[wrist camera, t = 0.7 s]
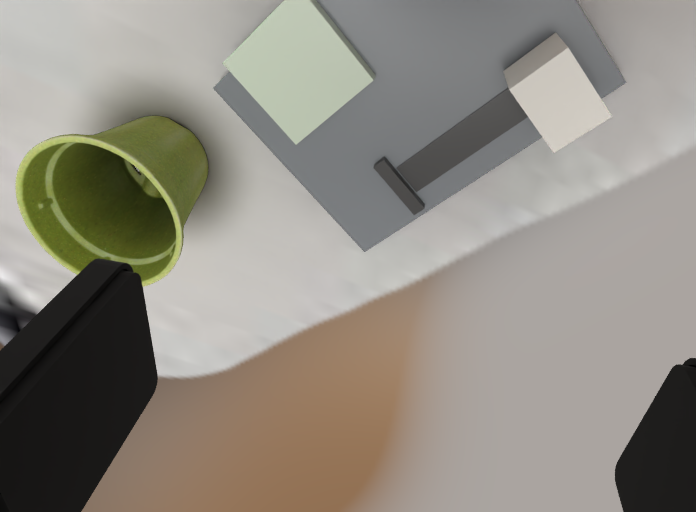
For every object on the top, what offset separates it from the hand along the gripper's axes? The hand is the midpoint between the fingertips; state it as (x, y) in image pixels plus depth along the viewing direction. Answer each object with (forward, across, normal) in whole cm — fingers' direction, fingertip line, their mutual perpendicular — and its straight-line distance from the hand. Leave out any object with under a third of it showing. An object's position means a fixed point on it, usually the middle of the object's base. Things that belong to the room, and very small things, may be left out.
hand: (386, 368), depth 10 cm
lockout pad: (+23, +7, +1) cm, 24 cm away
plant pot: (+25, +17, +9) cm, 31 cm away
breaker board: (+25, +1, +2) cm, 25 cm away
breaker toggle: (+23, -6, 0) cm, 24 cm away
